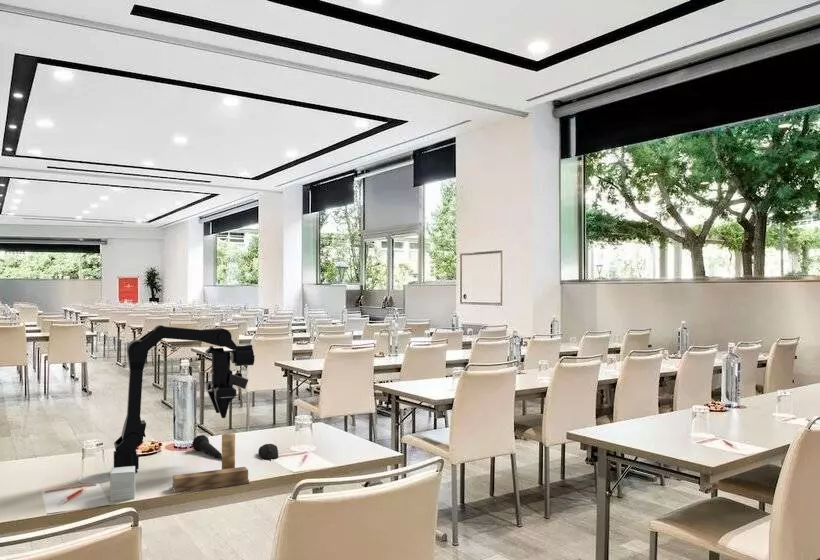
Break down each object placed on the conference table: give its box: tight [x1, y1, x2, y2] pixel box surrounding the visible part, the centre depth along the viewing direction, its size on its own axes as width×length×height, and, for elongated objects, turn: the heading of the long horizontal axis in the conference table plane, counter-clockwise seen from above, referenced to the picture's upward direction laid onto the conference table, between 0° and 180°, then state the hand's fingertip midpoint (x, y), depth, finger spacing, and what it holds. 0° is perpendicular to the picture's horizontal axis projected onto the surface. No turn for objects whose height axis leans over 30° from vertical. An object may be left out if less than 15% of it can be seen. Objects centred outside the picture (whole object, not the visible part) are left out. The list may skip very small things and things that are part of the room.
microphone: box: [192, 434, 222, 461], centre depth 221 cm, size 6×6×20 cm
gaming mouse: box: [258, 443, 279, 462], centre depth 219 cm, size 6×15×4 cm, turn 17°
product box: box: [109, 466, 136, 502], centre depth 177 cm, size 6×6×7 cm
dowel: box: [221, 432, 236, 470], centre depth 195 cm, size 4×4×12 cm
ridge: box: [172, 466, 250, 493], centre depth 187 cm, size 20×6×4 cm, turn 117°
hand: (220, 415), depth 213 cm, fingers open, 9 cm apart
